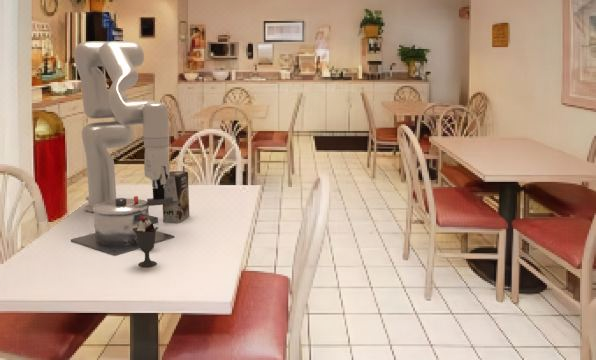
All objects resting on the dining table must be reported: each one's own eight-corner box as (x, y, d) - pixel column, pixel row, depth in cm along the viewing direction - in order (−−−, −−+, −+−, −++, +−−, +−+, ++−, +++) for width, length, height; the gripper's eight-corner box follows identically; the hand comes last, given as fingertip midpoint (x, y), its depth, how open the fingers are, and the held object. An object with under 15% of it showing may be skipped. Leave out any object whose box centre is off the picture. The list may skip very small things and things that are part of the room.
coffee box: (180, 223, 209) (178, 176, 205) (162, 222, 210) (160, 175, 207) (190, 216, 217) (188, 171, 214) (173, 215, 219) (171, 170, 215)
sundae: (136, 260, 171) (133, 208, 168) (161, 260, 172) (159, 207, 169) (132, 268, 165) (129, 214, 162) (158, 268, 165) (155, 213, 162)
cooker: (70, 241, 189) (68, 210, 187) (130, 225, 206) (128, 197, 204) (124, 259, 173) (122, 225, 171) (184, 240, 190) (183, 209, 188)
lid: (95, 217, 178) (94, 206, 177) (91, 204, 193) (90, 194, 192) (177, 209, 187) (177, 199, 186) (167, 197, 202) (167, 188, 201)
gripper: (136, 140, 195) (139, 197, 199) (153, 146, 183) (155, 207, 187) (159, 138, 199) (161, 194, 203) (177, 144, 187) (179, 203, 191)
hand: (158, 200), depth 195 cm, fingers closed
